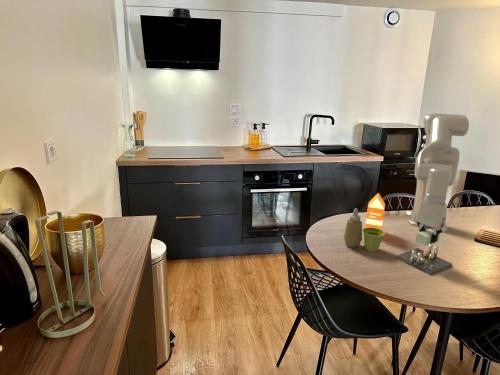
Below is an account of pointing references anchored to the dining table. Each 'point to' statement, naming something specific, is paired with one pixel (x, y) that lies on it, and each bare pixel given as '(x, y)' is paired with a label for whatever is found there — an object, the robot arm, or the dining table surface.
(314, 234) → the dining table surface
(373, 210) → the orange juice
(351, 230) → the squeeze bottle
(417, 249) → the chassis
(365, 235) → the plant pot
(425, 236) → the pale green block
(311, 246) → the dining table surface
